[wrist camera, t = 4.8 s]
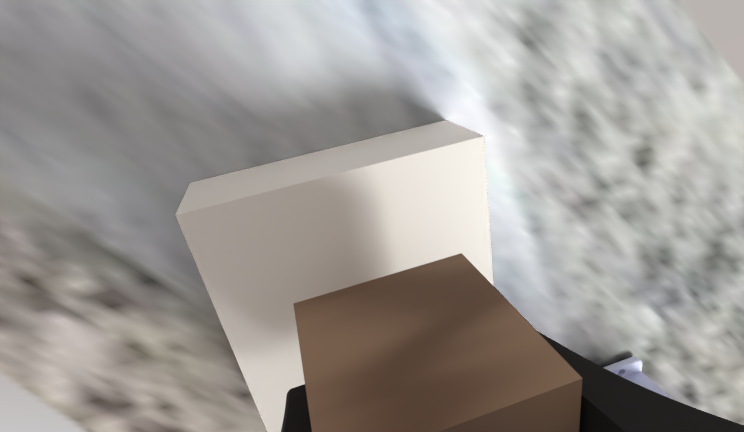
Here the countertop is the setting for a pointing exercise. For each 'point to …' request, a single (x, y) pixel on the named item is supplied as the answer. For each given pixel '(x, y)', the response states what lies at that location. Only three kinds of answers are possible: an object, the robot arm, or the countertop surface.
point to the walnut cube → (431, 358)
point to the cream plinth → (329, 236)
